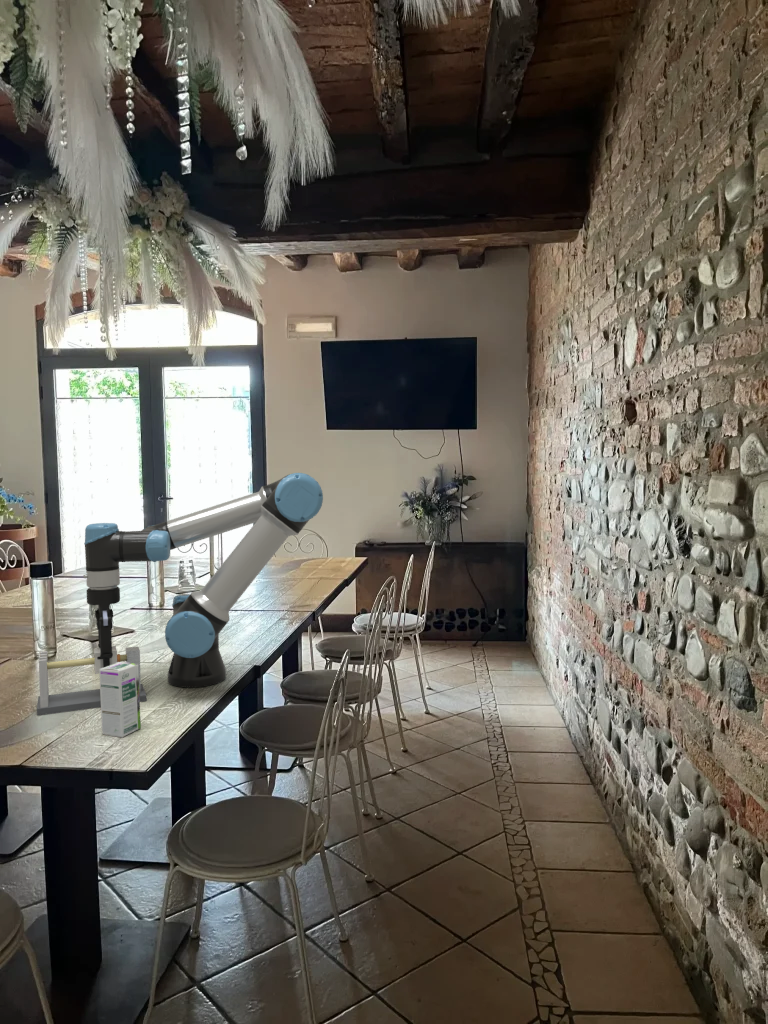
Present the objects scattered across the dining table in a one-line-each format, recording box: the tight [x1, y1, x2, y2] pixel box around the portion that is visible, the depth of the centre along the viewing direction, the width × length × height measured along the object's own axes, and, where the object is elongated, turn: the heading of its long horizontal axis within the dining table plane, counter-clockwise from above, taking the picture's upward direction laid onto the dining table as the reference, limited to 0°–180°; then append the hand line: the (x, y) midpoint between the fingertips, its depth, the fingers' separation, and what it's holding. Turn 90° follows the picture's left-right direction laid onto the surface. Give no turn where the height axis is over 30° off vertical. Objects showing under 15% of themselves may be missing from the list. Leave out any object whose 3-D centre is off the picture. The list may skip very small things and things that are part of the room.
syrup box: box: [98, 661, 142, 738], centre depth 152 cm, size 6×6×14 cm
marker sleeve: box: [93, 645, 118, 675], centre depth 173 cm, size 5×5×5 cm
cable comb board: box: [36, 646, 147, 716], centre depth 172 cm, size 24×10×12 cm, turn 114°
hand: (106, 680), depth 173 cm, fingers closed on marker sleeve, 5 cm apart
